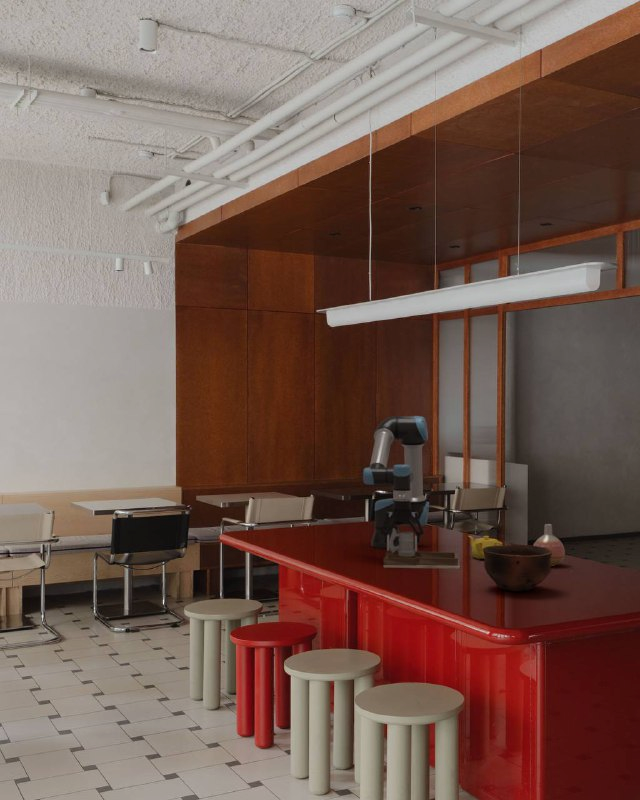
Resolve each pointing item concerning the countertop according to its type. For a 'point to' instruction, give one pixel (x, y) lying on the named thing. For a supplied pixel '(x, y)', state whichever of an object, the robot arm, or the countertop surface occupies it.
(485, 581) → the countertop surface
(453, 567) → the rimmed tray
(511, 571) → the bowl
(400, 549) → the mug
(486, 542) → the teapot
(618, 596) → the countertop surface
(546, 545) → the vase
